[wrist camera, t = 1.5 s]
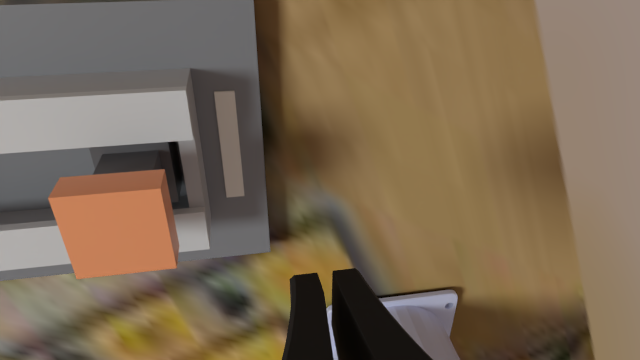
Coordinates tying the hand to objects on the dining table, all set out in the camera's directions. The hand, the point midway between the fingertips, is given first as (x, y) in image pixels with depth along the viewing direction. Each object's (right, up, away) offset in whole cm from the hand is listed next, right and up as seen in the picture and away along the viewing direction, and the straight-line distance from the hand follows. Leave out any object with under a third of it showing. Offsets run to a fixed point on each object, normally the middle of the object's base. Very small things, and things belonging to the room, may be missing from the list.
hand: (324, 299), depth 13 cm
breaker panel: (-11, +5, +7) cm, 14 cm away
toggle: (-7, +4, +7) cm, 11 cm away
